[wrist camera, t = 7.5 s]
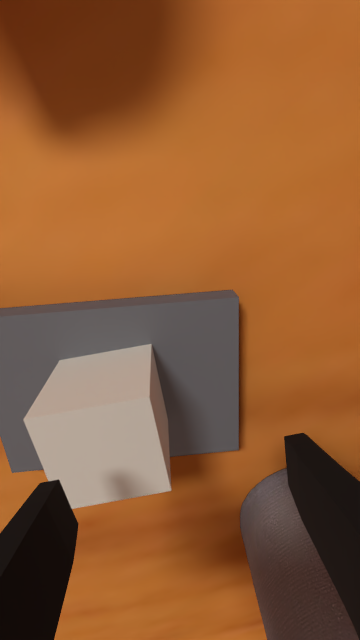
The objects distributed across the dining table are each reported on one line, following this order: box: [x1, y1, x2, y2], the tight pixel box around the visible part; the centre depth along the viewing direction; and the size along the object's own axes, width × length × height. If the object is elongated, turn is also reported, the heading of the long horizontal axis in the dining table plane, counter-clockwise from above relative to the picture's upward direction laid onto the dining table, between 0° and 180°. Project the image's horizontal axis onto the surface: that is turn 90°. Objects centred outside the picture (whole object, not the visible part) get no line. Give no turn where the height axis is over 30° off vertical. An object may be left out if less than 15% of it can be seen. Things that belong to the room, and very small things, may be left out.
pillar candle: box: [240, 468, 359, 640], centre depth 18 cm, size 10×10×15 cm
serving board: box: [0, 290, 239, 473], centre depth 19 cm, size 14×10×2 cm
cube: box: [23, 344, 171, 509], centre depth 16 cm, size 5×5×5 cm
